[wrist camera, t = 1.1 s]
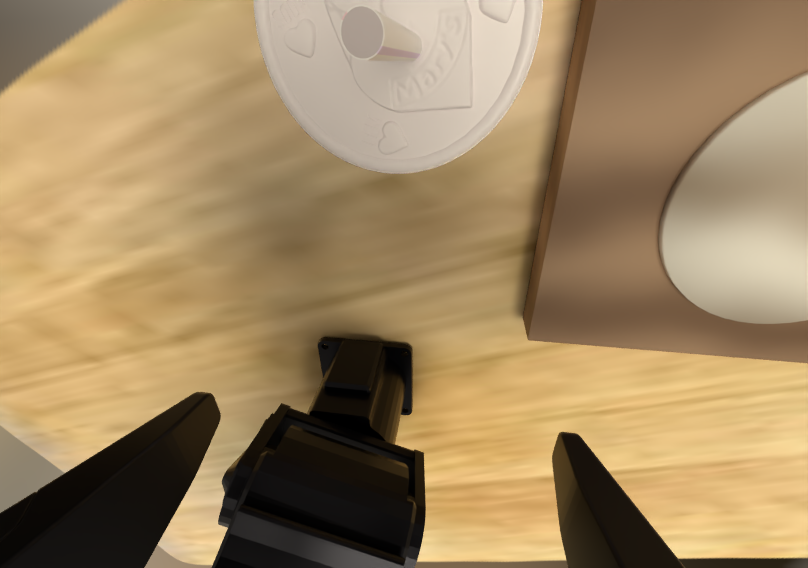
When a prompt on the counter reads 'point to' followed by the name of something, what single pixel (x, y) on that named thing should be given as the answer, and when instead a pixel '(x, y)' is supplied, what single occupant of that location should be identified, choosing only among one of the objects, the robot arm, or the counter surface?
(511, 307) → the counter surface
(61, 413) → the counter surface
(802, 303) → the walnut base
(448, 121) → the smoothie
